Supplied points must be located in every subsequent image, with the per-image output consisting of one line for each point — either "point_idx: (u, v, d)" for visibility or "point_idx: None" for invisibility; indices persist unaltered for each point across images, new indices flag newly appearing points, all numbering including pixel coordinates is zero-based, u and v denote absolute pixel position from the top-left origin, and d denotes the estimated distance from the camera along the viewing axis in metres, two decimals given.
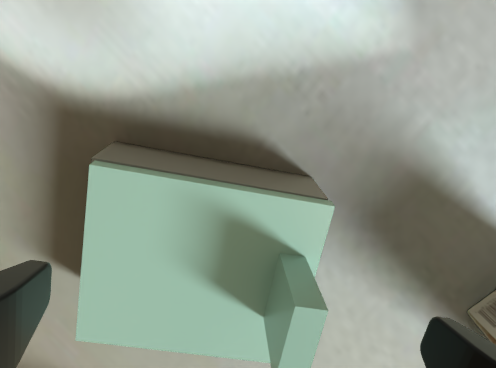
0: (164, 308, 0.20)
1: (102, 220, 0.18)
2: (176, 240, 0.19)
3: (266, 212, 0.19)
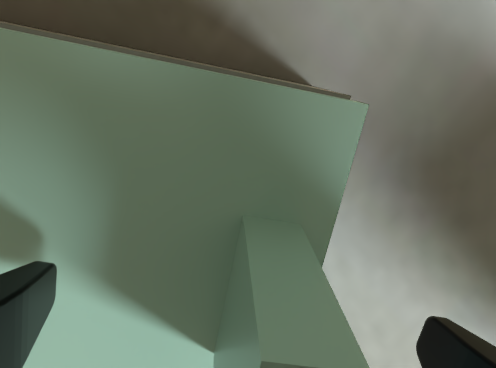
0: None
1: None
2: (2, 183, 0.08)
3: (209, 115, 0.08)
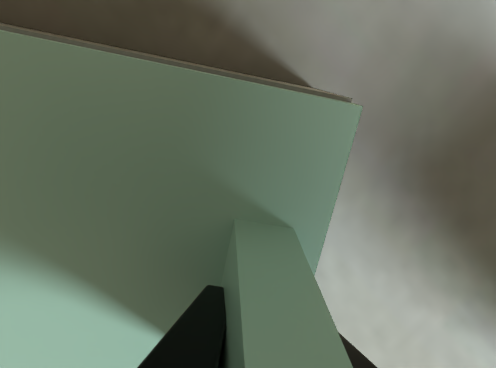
0: None
1: None
2: None
3: (199, 117, 0.08)
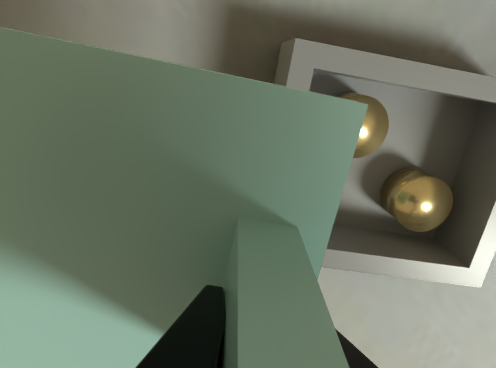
0: None
1: None
2: None
3: (203, 115, 0.08)
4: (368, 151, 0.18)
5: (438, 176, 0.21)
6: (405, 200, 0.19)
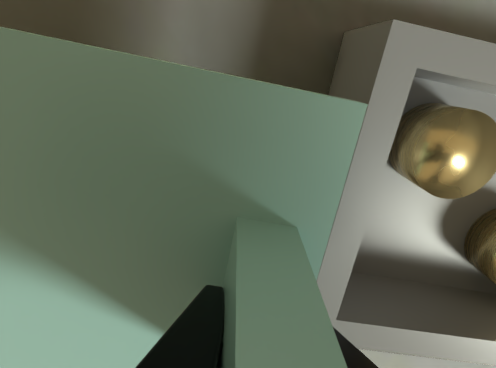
0: None
1: None
2: None
3: (202, 114, 0.08)
4: (469, 189, 0.13)
5: None
6: None
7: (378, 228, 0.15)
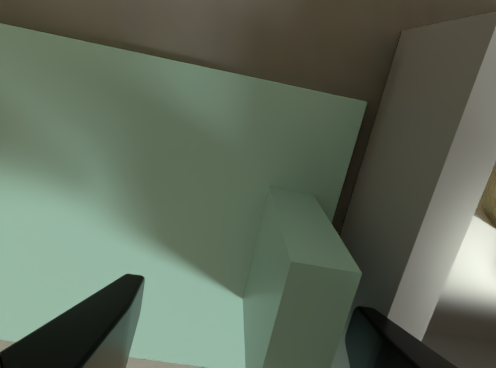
0: (76, 281, 0.12)
1: None
2: (88, 159, 0.11)
3: (245, 109, 0.11)
4: None
5: None
6: None
7: None
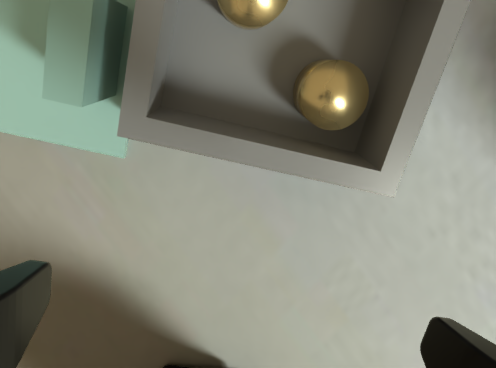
0: None
1: None
2: None
3: None
4: (266, 19, 0.15)
5: None
6: (312, 88, 0.16)
7: (215, 73, 0.18)
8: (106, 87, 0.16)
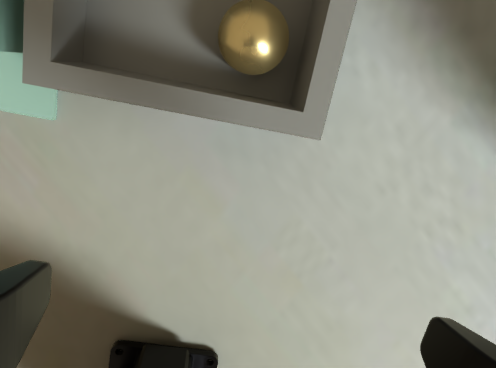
0: None
1: None
2: None
3: None
4: None
5: (287, 20, 0.17)
6: (229, 30, 0.16)
7: (136, 25, 0.17)
8: (20, 40, 0.16)
